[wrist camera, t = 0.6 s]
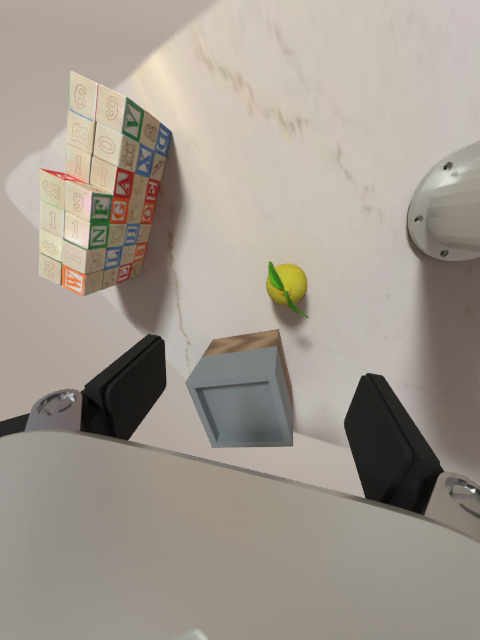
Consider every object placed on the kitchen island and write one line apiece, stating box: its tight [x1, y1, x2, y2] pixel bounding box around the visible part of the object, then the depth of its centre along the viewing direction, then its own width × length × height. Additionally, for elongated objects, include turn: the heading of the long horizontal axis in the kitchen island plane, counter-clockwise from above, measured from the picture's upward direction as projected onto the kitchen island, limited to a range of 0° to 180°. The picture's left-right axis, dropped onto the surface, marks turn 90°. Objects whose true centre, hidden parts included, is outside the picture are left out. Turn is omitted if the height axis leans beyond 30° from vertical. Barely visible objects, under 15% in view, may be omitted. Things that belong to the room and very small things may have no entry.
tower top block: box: [186, 346, 293, 448], centre depth 33 cm, size 12×12×6 cm
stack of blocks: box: [39, 71, 172, 296], centre depth 29 cm, size 21×6×12 cm, turn 156°
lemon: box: [266, 261, 309, 318], centre depth 30 cm, size 7×6×10 cm
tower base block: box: [202, 329, 292, 407], centre depth 39 cm, size 12×12×6 cm
